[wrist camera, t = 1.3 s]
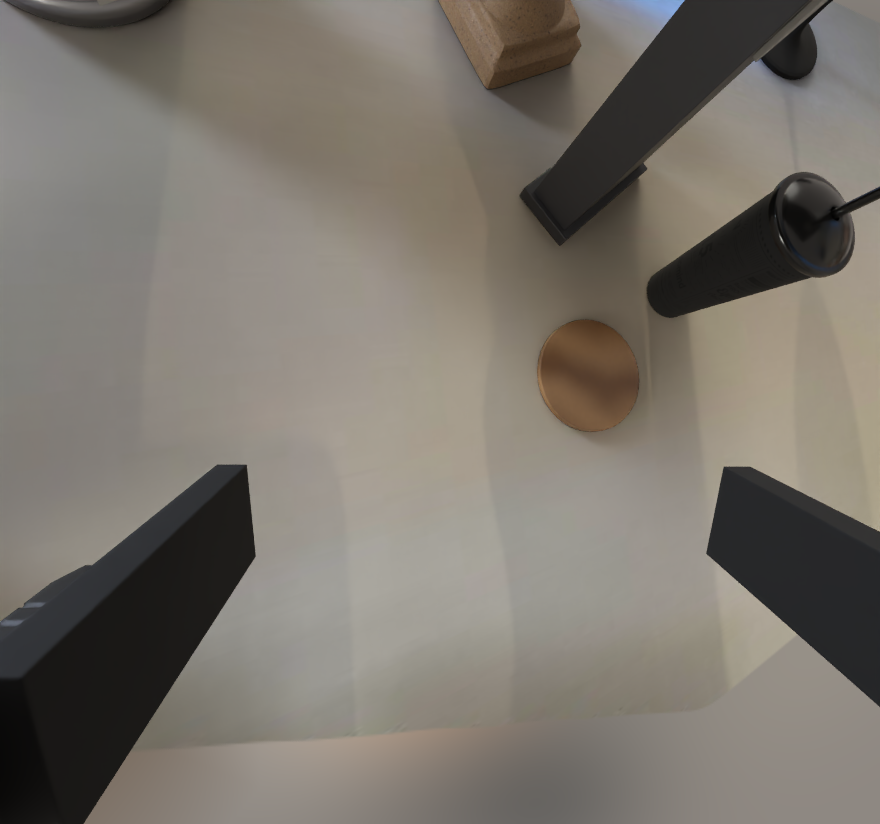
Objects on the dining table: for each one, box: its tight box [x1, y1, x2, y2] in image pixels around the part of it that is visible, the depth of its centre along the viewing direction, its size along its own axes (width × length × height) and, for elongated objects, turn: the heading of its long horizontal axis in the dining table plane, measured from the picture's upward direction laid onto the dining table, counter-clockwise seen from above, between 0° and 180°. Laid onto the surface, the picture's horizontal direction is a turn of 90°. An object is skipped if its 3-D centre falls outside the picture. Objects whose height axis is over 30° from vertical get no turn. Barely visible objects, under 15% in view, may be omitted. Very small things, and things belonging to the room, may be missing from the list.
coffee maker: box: [520, 0, 828, 246], centre depth 29 cm, size 20×13×28 cm, turn 43°
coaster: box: [537, 320, 639, 432], centre depth 39 cm, size 10×10×1 cm
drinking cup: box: [647, 172, 880, 318], centre depth 34 cm, size 8×8×20 cm
